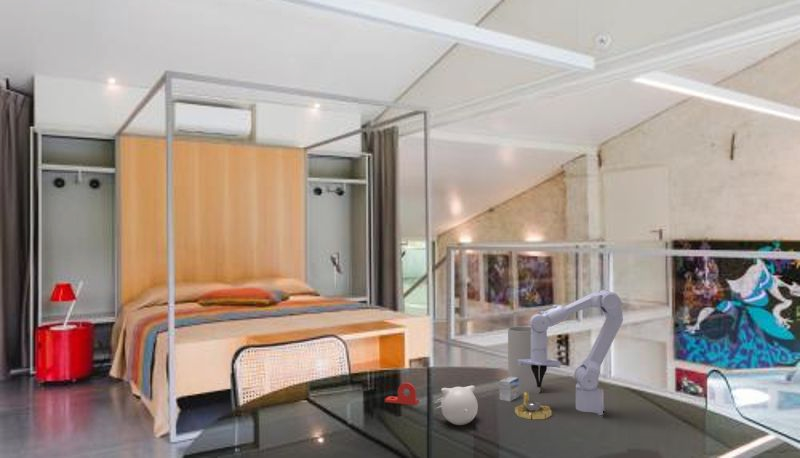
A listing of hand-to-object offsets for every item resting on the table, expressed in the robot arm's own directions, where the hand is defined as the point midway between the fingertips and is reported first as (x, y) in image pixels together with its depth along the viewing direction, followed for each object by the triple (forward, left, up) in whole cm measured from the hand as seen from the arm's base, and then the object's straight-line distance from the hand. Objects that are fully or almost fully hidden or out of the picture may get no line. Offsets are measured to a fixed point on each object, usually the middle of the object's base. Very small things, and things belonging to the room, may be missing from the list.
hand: (539, 386), depth 199 cm
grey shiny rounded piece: (+1, +7, -9) cm, 12 cm away
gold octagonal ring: (+1, +6, -8) cm, 10 cm away
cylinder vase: (+11, -24, -9) cm, 27 cm away
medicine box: (+13, -8, -9) cm, 17 cm away
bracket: (+50, +9, -9) cm, 51 cm away
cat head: (+22, +23, -9) cm, 33 cm away
